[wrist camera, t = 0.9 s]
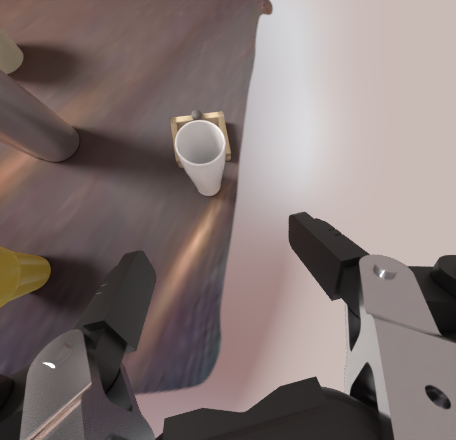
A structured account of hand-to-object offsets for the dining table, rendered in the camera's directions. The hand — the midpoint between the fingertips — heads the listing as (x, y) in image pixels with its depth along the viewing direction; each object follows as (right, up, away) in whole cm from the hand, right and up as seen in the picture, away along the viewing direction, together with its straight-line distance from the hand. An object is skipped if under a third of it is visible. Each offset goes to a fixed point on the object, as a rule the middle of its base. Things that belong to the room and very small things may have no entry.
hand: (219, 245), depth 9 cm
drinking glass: (-4, +9, +27) cm, 29 cm away
